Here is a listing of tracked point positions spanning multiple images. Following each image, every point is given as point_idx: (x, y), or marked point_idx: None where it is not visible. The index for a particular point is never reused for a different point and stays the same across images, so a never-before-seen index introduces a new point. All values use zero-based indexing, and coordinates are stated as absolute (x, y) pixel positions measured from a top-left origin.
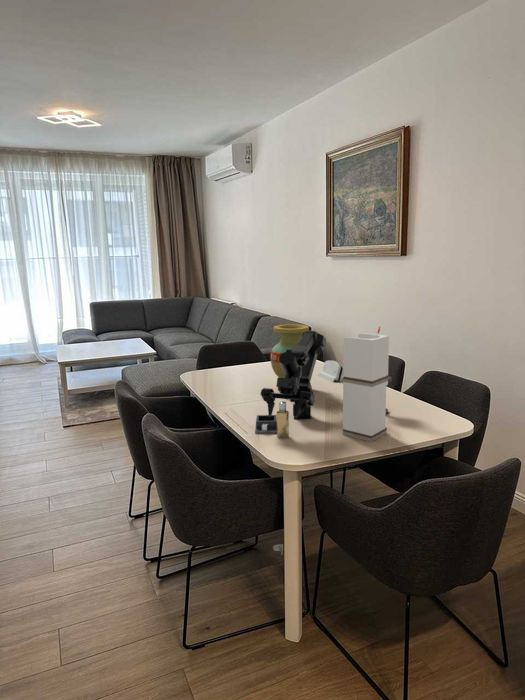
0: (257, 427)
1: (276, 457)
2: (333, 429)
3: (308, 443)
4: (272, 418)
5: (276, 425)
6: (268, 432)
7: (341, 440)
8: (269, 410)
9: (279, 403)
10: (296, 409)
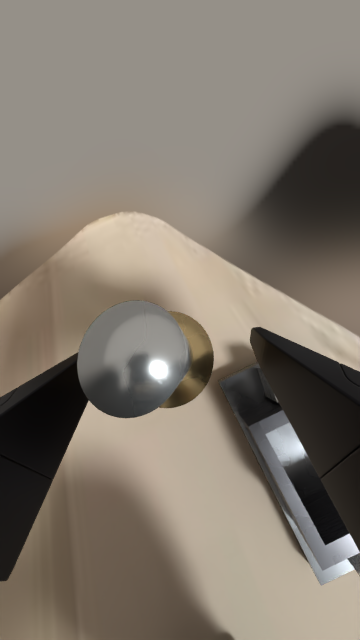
0: None
1: (144, 229)
2: None
3: None
4: (319, 519)
5: (255, 447)
6: (247, 367)
7: None
8: (284, 344)
9: (168, 312)
10: (37, 385)
